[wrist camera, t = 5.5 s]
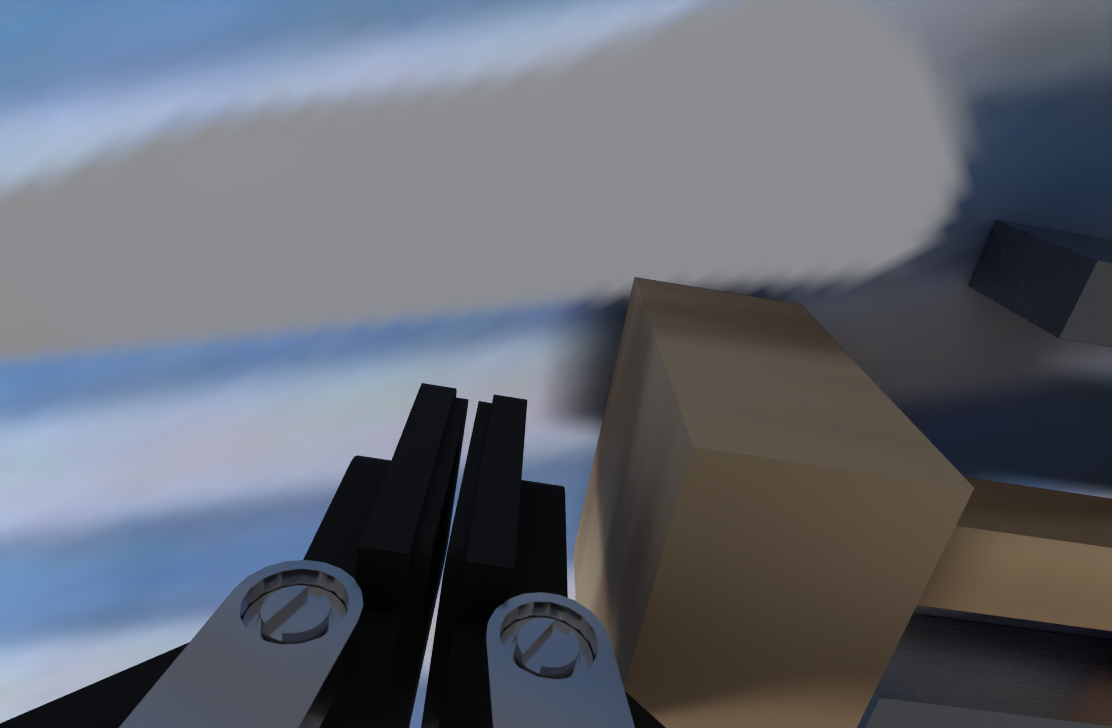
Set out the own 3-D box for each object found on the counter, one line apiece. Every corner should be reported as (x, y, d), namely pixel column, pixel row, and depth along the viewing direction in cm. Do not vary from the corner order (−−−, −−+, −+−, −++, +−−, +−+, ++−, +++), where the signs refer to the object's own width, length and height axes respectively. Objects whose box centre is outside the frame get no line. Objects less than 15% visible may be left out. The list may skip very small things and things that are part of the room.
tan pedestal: (637, 263, 12) (698, 425, 7) (1370, 383, 13) (1899, 603, 8) (571, 559, 15) (580, 835, 10) (1186, 641, 16) (1495, 932, 11)
